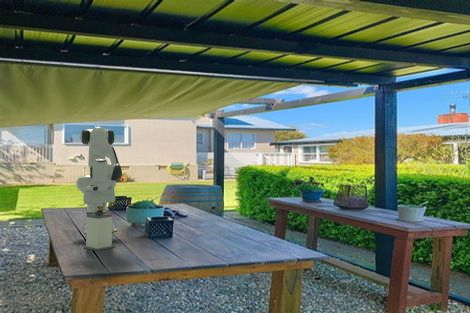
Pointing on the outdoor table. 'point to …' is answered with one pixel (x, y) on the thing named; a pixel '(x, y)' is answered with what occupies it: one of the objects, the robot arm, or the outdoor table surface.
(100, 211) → the plunger
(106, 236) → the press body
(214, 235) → the outdoor table surface
